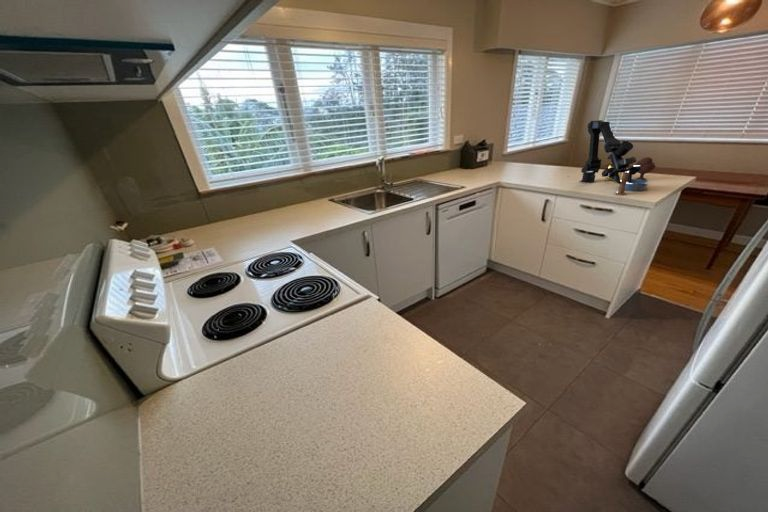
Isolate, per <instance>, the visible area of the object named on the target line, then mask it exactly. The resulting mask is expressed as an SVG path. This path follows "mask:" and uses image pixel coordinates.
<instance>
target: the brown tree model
mask: <svg viewBox="0 0 768 512" xmlns="http://www.w3.org/2000/svg"><path fill="white" fill-rule="evenodd" d="M637 165H639V166H641V170H639V171H638V172H637V174H639V175H640V176H639V177H636V179H640V180H645V181H647V178H645V177H644V176H645V174H648V173H650V172H652V171H654V170H655V169H656V166H657V165H656V164H655V163H654V162H653V158H652V157H650V156H646V157H642V158H641V159H639V160H638V161H636V162H635V164H633V166H637Z"/></svg>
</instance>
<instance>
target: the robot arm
mask: <svg viewBox="0 0 768 512" xmlns="http://www.w3.org/2000/svg"><path fill="white" fill-rule="evenodd" d="M587 133H588V134H589V135H590V137H589V138H590V139H589V149H588V150H589V151H588V158H587V160H586V161H585V165H584V166H583V167H582V168H581V170H580V171H581V173H582V177H581V180H580V182H581V183H587V184H588V183H594V182H596V180H595V179H596V173H599V171H600V169H601V167H602V158H599V149H600V148H599V146H600V134H601V135H602V137H603V140H604V146H603V147H604V152H605V153H606V154H608V157H607V160H610V162H611V165H610V166H611V167H609V166H608V167H609V168H608V167H606V168H605V169H604V170H603V171H602V172H601V177H603V178H604V177H606V178H607V176H608V175H609V176H608V177H610V178H611V179H610V180H612V179H613V180H612V181H614V182H615V183H617V184H618V185H619V184H621V180H622V179H620V177H619V173H622V174H623V172H624V171H628V172H629V175H628V179H627V182H628V183H631V179H633V175H636V174H638V171H639V170H641V166H639V165H637V166H634V164H636V163H637V158H636V156H631V157H627V158H624V156H626V155H628V153H630V151H631V150H632V149H634V144H633V143H632V142H630V141H628V140H627V139H626V140H623V141H622V142H621V141H620V140H619V139H618V138H616V137H615V134H614V131H613V130H612V128H611V122H610V121H609V120H604V121H603V120H602V119H596V120H590V122H588V124H587ZM630 165H631V166H630ZM608 173H609V174H608Z"/></svg>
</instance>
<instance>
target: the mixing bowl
mask: <svg viewBox="0 0 768 512" xmlns="http://www.w3.org/2000/svg"><path fill="white" fill-rule="evenodd" d="M648 185H649V181H648V180H640V179H637V178H632V179H631V183H628V182H626V186H625V189H624V191H628V192H641V191H645V190H647V189H648ZM619 187H620V184H618V188H619Z"/></svg>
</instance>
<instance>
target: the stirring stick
mask: <svg viewBox="0 0 768 512" xmlns="http://www.w3.org/2000/svg"><path fill="white" fill-rule="evenodd" d="M628 175H629V172H628V171H624V172H623V173H622V175H621V179H620V180H621V184H620V187H619V186H618V191H616V192H615V194H616V195H617V196H618V195H619V196H624V195H626V192H625V190H624V189H625V186H626V182H627V179H628Z"/></svg>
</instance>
